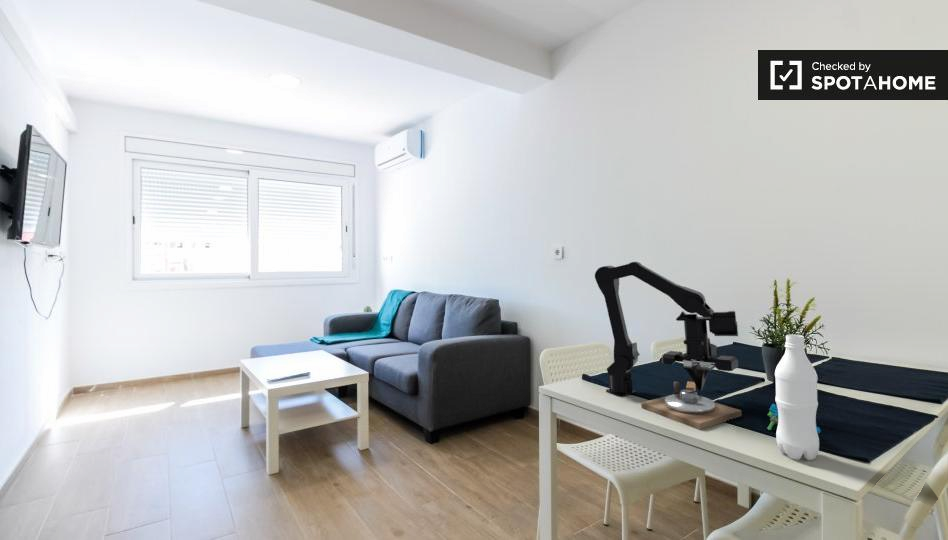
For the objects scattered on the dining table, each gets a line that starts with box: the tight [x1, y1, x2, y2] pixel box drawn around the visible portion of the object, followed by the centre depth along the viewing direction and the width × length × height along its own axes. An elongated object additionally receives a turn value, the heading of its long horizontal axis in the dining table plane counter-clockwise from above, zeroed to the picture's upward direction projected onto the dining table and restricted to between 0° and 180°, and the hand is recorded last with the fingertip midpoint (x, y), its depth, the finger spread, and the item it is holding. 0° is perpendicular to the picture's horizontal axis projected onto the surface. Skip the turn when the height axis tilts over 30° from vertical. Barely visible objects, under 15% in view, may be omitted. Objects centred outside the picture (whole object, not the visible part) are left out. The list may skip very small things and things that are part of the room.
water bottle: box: [774, 333, 820, 461], centre depth 91 cm, size 7×7×25 cm
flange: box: [665, 381, 716, 414], centre depth 120 cm, size 17×12×4 cm
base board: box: [640, 380, 742, 430], centre depth 118 cm, size 18×16×6 cm
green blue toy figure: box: [766, 403, 822, 435], centre depth 101 cm, size 11×6×10 cm
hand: (700, 390), depth 125 cm, fingers closed
